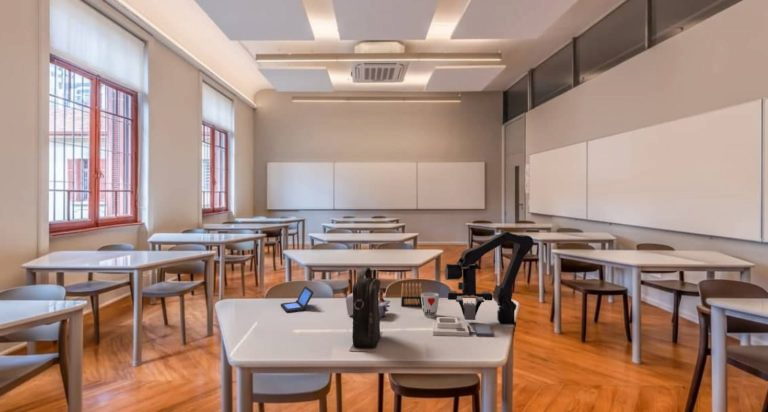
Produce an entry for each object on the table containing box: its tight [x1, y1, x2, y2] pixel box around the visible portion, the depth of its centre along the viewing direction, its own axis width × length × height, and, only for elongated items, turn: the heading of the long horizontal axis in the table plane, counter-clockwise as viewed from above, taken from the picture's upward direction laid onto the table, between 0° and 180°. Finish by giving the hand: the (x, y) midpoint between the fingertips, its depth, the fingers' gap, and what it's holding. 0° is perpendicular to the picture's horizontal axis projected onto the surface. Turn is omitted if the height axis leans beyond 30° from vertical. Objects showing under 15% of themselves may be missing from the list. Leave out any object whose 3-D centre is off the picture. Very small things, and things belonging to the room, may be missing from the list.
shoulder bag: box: [348, 266, 383, 353], centre depth 155 cm, size 23×9×28 cm, turn 173°
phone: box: [472, 324, 494, 338], centre depth 165 cm, size 6×12×1 cm, turn 174°
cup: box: [421, 292, 440, 318], centre depth 188 cm, size 8×8×10 cm
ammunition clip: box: [400, 282, 423, 308], centre depth 206 cm, size 11×2×12 cm, turn 85°
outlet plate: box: [432, 316, 470, 337], centre depth 167 cm, size 14×14×4 cm
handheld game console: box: [280, 286, 314, 314], centre depth 204 cm, size 16×13×9 cm
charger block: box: [463, 301, 476, 321], centre depth 176 cm, size 4×4×7 cm
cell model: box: [345, 292, 391, 319], centre depth 190 cm, size 13×11×20 cm
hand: (469, 315), depth 176 cm, fingers closed on charger block, 4 cm apart
